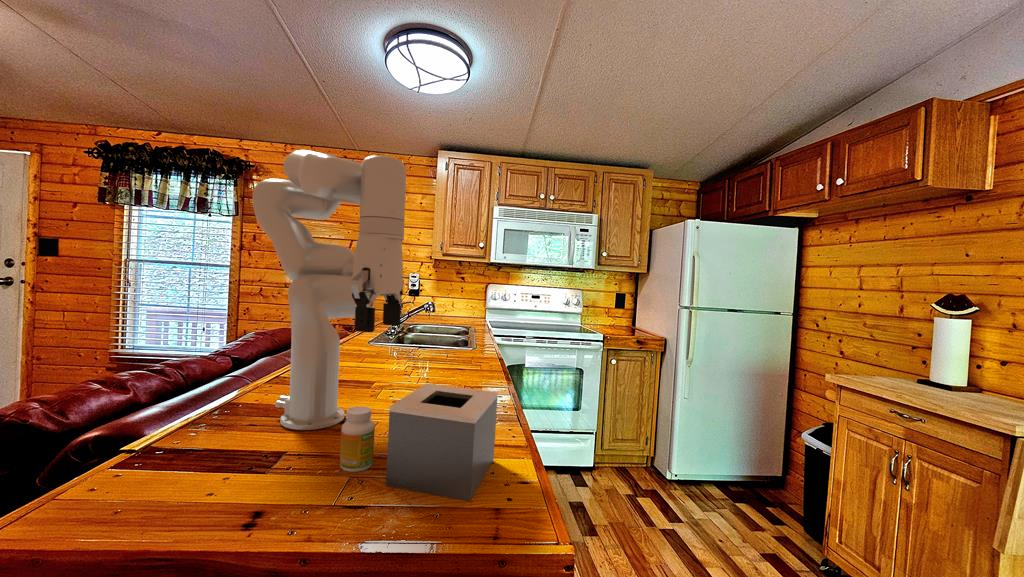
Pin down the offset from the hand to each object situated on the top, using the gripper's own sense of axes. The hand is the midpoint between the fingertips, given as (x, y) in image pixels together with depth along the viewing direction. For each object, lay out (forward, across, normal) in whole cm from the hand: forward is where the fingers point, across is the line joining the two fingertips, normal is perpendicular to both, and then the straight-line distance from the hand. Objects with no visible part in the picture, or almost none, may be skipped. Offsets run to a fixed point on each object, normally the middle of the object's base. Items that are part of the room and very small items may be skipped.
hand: (378, 328), depth 74 cm
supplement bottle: (+24, +2, -2) cm, 24 cm away
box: (+24, 0, +13) cm, 27 cm away
